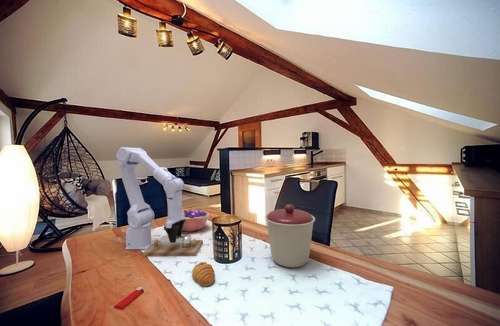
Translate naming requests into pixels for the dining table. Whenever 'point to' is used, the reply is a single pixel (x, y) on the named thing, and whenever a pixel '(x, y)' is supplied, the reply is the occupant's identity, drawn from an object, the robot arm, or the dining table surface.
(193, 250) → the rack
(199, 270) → the pastry
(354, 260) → the dining table surface
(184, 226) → the cell model
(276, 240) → the canister
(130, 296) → the lighter
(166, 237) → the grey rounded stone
